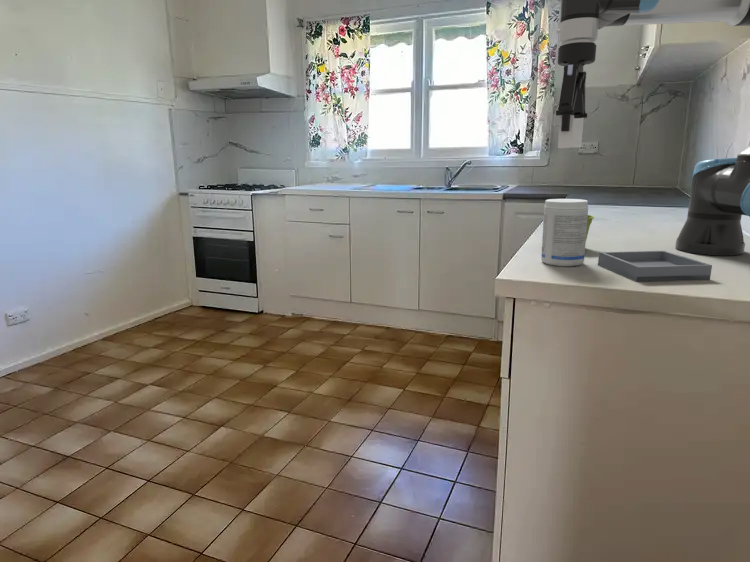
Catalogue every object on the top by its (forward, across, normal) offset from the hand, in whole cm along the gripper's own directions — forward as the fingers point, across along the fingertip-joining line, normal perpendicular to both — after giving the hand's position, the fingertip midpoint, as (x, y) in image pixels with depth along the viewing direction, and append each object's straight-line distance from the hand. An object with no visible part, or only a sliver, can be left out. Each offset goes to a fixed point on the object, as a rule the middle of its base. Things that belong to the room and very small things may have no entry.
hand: (570, 148), depth 114 cm
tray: (+26, 0, +18) cm, 32 cm away
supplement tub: (+26, -1, 0) cm, 26 cm away
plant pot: (+27, -22, -1) cm, 34 cm away
